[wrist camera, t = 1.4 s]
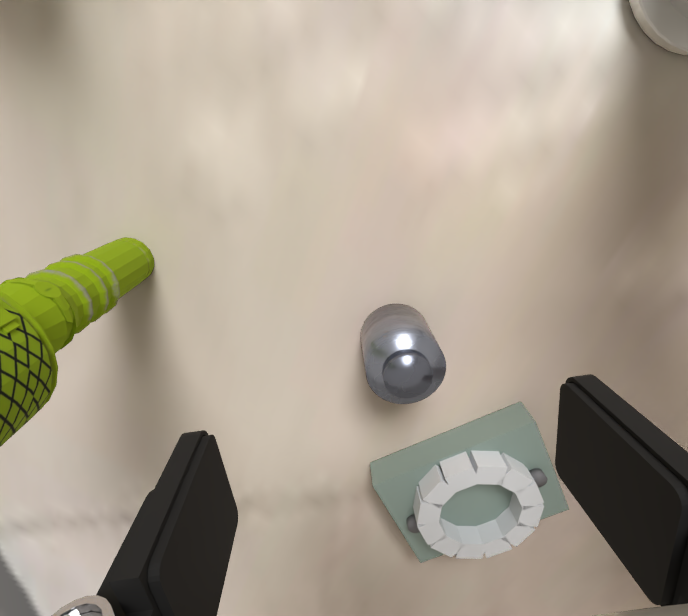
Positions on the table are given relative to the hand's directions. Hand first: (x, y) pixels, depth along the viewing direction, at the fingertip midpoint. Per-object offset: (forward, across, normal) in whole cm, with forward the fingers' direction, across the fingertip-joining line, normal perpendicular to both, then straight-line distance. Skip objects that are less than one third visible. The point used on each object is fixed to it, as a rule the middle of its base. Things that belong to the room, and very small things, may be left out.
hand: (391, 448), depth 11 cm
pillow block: (+24, -9, +25) cm, 36 cm away
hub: (+24, -3, +8) cm, 25 cm away
